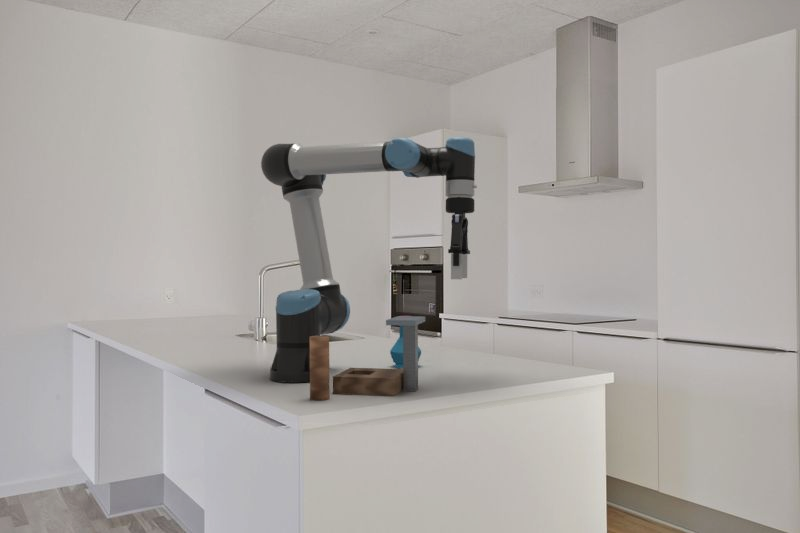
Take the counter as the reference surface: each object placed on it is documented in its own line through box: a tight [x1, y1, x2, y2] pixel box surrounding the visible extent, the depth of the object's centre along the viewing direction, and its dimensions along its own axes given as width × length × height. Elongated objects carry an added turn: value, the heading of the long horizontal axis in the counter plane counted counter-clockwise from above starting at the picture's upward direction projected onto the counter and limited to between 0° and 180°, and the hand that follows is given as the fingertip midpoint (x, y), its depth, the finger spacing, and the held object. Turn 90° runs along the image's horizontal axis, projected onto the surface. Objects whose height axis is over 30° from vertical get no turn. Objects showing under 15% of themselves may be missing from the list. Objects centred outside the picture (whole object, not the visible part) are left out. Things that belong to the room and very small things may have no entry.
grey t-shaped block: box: [385, 315, 426, 392], centre depth 161 cm, size 7×12×17 cm, turn 167°
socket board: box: [332, 367, 403, 397], centre depth 162 cm, size 15×14×4 cm
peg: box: [309, 335, 331, 401], centre depth 151 cm, size 4×4×14 cm
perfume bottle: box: [389, 325, 422, 369], centre depth 198 cm, size 9×9×15 cm
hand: (459, 278), depth 175 cm, fingers open, 13 cm apart
